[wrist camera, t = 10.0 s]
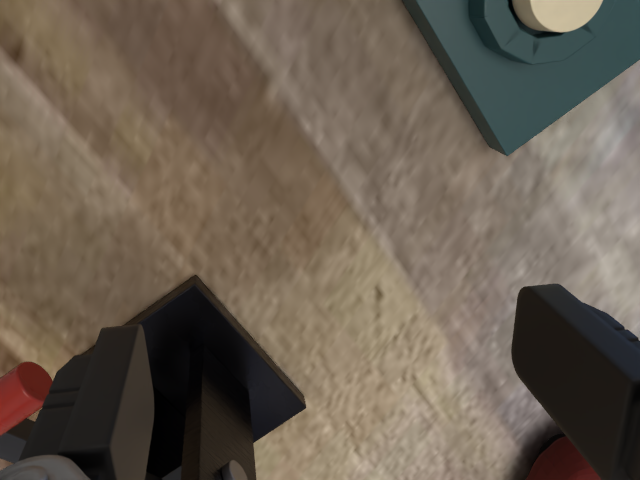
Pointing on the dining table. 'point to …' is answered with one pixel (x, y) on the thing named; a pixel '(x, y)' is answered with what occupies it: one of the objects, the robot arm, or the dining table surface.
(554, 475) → the ashtray
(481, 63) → the control block
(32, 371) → the lever
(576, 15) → the button
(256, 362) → the bracket
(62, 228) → the dining table surface
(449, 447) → the dining table surface
